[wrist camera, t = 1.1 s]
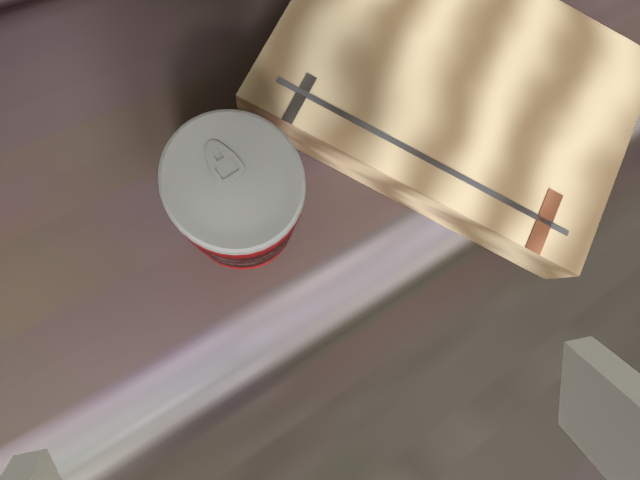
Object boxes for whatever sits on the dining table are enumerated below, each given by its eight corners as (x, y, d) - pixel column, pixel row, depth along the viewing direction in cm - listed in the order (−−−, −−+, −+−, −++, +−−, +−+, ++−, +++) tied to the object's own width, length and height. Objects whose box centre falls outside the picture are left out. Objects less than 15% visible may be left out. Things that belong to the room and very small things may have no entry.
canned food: (235, 149, 35) (223, 79, 24) (313, 215, 35) (337, 175, 24) (166, 222, 33) (121, 182, 22) (248, 291, 33) (243, 284, 22)
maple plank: (238, 118, 35) (235, 94, 31) (347, -71, 39) (357, -115, 35) (545, 279, 36) (580, 276, 32) (621, 81, 40) (661, 56, 36)
